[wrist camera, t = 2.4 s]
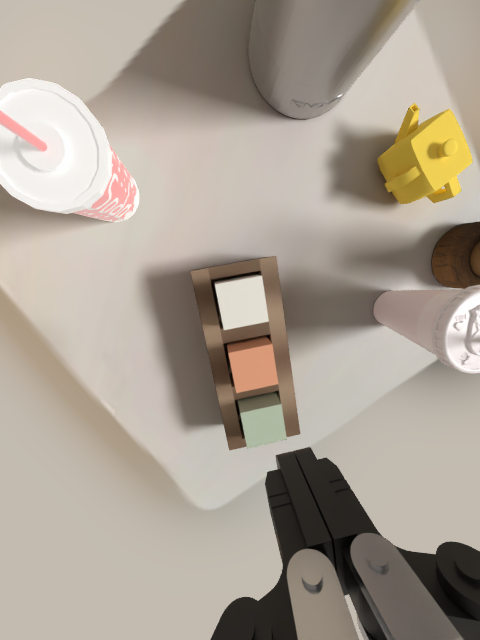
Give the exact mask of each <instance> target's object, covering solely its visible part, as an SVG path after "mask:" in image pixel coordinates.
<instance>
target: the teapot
mask: <svg viewBox="0 0 480 640" xmlns="http://www.w3.org/2000/svg"><path fill="white" fill-rule="evenodd" d="M419 110H420V109H419V108H418V106H417V105H416V104H415V103H414V104H413V105H411V106H410V107H409V108H408V111H407V113H406V116H405V118H404V120H403V123H402V125H401V128H400V130H399V133H398V135H397V138H396V140H395V144H394V145H392V146H391V147H390V148H389V149H388V150H386V151H385V152H384V153H383V154H382V155H381V156H380V157H379V158H378V159H377V162H378V165H379V167H380V172H381V173H382V174H383V176H384V178H385V180H386V183H385V184H384V185H385V187H386V189H387V191H388V192H391V191H392V194H393V196H395V197H396V199H397V200H398V202H399V203H400V204H407V203H410V202H413V201H416V200H418V199H421V198H423V197H425V196H427V197H428V198H429V199H430V200H431V201H432V202H433V203H436V202H439V201H443V200H446V199H449V198H452V197H454V196H456V195H457V194H458V193H459V192H461V188H460V185H459V182H458V179H457V176H456V175H458V174H459V173H460V172H461V171H463V170H464V169H465V168H466V167H468V166H469V165H470V164H471V163H472V156H471V153H470V150H469V147H468V145H467V142H466V140H465V137H464V135H463V133H462V130H461V128H460V126H459V124H458V122H457V120H456V118H455V116H454V114H453V113H452V111H451V110H450V109H448V110H445V111H443V112H441V113H439V114H437V115H435V116H433V117H432V118H430V119H428V120H426V121H425V122H423V123H421V124H420V125H418V116H419ZM442 186H444V187H445V189H441V187H442Z"/></svg>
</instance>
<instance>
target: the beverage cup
mask: <svg viewBox="0 0 480 640" xmlns="http://www.w3.org/2000/svg"><path fill="white" fill-rule="evenodd" d="M0 184H1V185H2V186H3V187H4V188H5V189H6V190H7V192H8V193H9V194H10V195H11V196H13V197H15V198H17V199H18V200H20V201H22V202H24V203H26V204H28V205H30V206H31V207H33V208H35V209H39V210H44V211H50V212H56V213H63V214H69V213H75V214H79V215H83V216H87V217H91V218H96V219H100V220H104V221H109V222H116V223H117V222H121V221H124V220H127V219H128V218H129V217H131V216H132V215H133V214H134V213H135V211H136V209H137V207H138V205H139V191H138V188H137V185H136V182H135V181H134V179H133V178H132V176H131V175H130V173H129V172H128V171H127V169H126V168H125V166H124V165H123V164H122V162H121V161H120V159H119V158H118V156H117V155H116V154H115V152H114V151H113V149H112V148H111V147H110V145H109V143H108V140H107V137H106V134H105V131H104V129H103V128H102V126H101V125H100V123H99V122H98V121H97V119H96V118H95V117H94V116H93V114H92V113H91V112H90V110H89V109H88V108H87V107H86V105H85V104H84V103H83V101H82V100H81V99H80V98H78V97H77V96H75V95H73V94H72V93H71V92H69V91H68V90H66V89H65V88H63V87H62V86H60V85H58V84H57V83H53V82H49V81H44V80H39V79H34V78H26V79H21V80H17V81H13V82H8V83H5V84H4V85H3V86H1V87H0Z"/></svg>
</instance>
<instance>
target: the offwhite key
mask: <svg viewBox="0 0 480 640" xmlns="http://www.w3.org/2000/svg"><path fill="white" fill-rule="evenodd" d="M215 288H216V293H217V298H218V303H219V308H220V313H221V318H222V323H223V328H224V330H228V329H233V328H238V327H243V326H248V325H253V324H259V323H264V322H269V319H268V312H267V305H266V299H265V292H264V285H263V279H262V276H261V275H257V274H252V275H247V276H242V277H236V278H231V279H225V280H220V281H215Z"/></svg>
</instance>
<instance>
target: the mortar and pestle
mask: <svg viewBox="0 0 480 640" xmlns="http://www.w3.org/2000/svg"><path fill="white" fill-rule="evenodd" d="M432 270H433V274H434V276H435V278H436V279H437V280H438V282H439V283H441V284H442V285H444V286H447V287H451V288H463V289H465V288H467V287H470V286H475V285H480V222H474V223H466V224H461V225H458V226H456V227H454V228H452V229H451V230H449V231H448V232H447V233H445V234H444V235H443V237H442V238H441V239H440V240H439V242H438V243H437V245H436V247H435V250H434V253H433V256H432Z"/></svg>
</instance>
